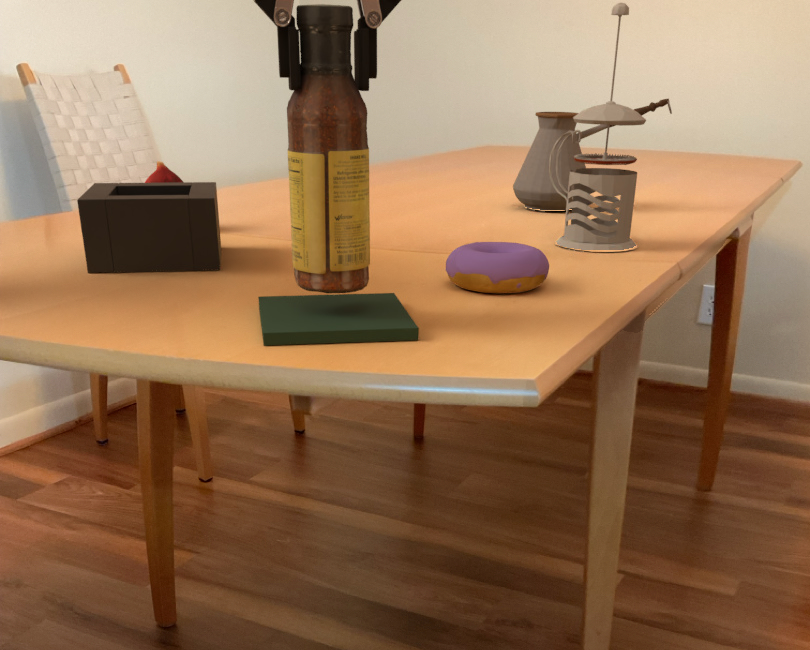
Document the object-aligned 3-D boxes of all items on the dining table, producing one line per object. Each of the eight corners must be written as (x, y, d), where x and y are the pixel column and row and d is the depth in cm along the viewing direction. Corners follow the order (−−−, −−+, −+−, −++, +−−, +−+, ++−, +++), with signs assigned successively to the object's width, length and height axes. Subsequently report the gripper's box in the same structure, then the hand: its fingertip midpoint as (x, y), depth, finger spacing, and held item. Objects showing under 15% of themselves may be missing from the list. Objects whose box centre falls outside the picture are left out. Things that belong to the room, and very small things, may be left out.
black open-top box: (87, 273, 92) (76, 199, 89) (103, 249, 103) (94, 183, 100) (220, 270, 94) (214, 198, 91) (221, 246, 105) (216, 182, 102)
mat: (263, 345, 70) (262, 332, 69) (259, 307, 80) (258, 296, 80) (418, 340, 71) (418, 327, 71) (394, 303, 82) (394, 292, 81)
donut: (532, 270, 94) (539, 223, 91) (556, 310, 87) (564, 261, 84) (436, 271, 92) (439, 224, 89) (452, 312, 85) (456, 263, 82)
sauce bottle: (371, 281, 77) (380, 10, 68) (366, 298, 72) (374, 5, 62) (294, 277, 77) (292, 5, 68) (282, 293, 72) (279, 0, 62)
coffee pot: (508, 212, 131) (515, 96, 124) (514, 201, 141) (521, 93, 134) (661, 218, 128) (677, 100, 121) (655, 207, 138) (670, 97, 131)
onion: (195, 226, 118) (189, 159, 114) (189, 233, 113) (182, 164, 109) (149, 226, 117) (142, 158, 114) (141, 233, 112) (132, 163, 109)
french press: (615, 256, 103) (645, -2, 91) (526, 243, 109) (543, 1, 98) (651, 244, 110) (683, 3, 98) (565, 233, 116) (586, 5, 105)
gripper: (437, -203, 64) (430, 89, 72) (189, -218, 61) (213, 87, 70) (460, -233, 57) (450, 92, 66) (185, -251, 55) (211, 90, 63)
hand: (328, 87), depth 68 cm, fingers closed on sauce bottle, 4 cm apart
